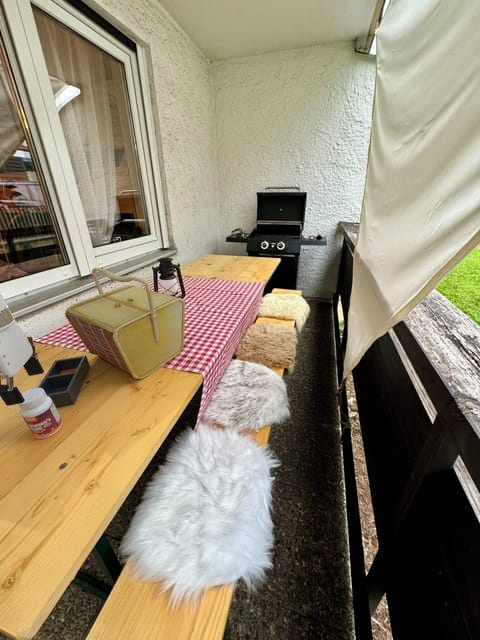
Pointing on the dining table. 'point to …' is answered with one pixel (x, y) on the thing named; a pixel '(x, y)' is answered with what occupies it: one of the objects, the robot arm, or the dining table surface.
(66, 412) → the dining table surface
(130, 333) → the picnic basket
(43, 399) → the pill bottle
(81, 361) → the holder
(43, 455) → the dining table surface
